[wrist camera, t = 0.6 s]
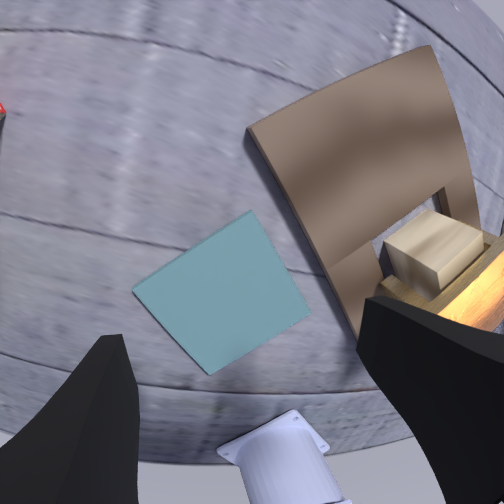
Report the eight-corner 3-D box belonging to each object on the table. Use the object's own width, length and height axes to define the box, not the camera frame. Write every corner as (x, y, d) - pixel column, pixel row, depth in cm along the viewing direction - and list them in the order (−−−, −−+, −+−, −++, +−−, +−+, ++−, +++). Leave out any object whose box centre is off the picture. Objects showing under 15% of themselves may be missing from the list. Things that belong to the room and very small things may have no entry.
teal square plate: (309, 309, 21) (311, 312, 21) (208, 371, 21) (209, 375, 21) (250, 209, 18) (252, 211, 17) (132, 286, 18) (132, 290, 17)
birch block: (437, 254, 23) (486, 283, 18) (398, 286, 23) (445, 322, 18) (426, 208, 21) (482, 231, 16) (383, 240, 21) (437, 272, 16)
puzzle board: (476, 258, 24) (484, 262, 23) (362, 353, 24) (368, 360, 23) (420, 46, 16) (430, 44, 15) (246, 127, 16) (250, 127, 15)
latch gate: (462, 238, 21) (537, 278, 14) (386, 300, 21) (458, 364, 14) (457, 211, 20) (539, 247, 13) (377, 274, 20) (457, 337, 13)
